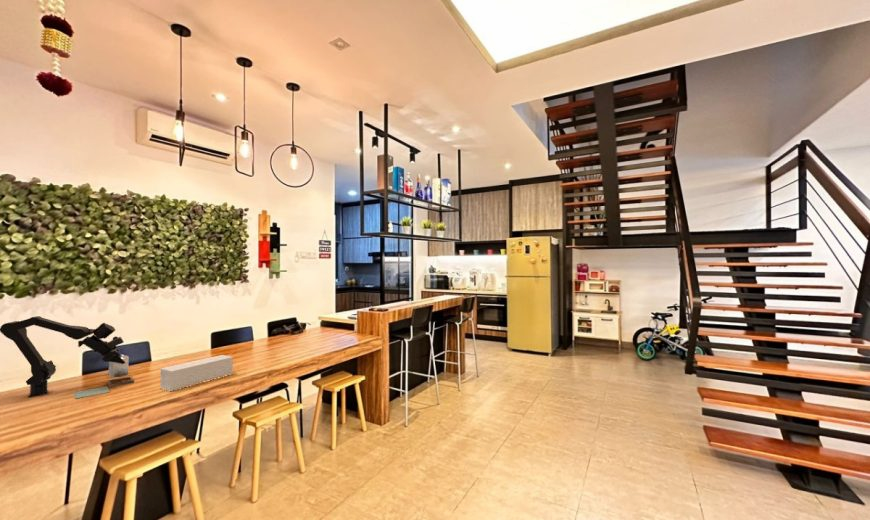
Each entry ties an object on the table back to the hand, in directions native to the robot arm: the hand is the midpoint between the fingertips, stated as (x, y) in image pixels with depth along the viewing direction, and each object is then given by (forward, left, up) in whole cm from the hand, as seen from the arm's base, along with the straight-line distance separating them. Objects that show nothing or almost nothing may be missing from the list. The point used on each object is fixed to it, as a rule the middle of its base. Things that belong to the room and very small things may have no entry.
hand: (124, 361), depth 191 cm
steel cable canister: (0, -1, -7) cm, 7 cm away
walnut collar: (0, -1, -11) cm, 12 cm away
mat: (+9, -13, -11) cm, 19 cm away
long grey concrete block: (+28, +29, -12) cm, 42 cm away
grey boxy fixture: (-22, -1, -12) cm, 25 cm away
